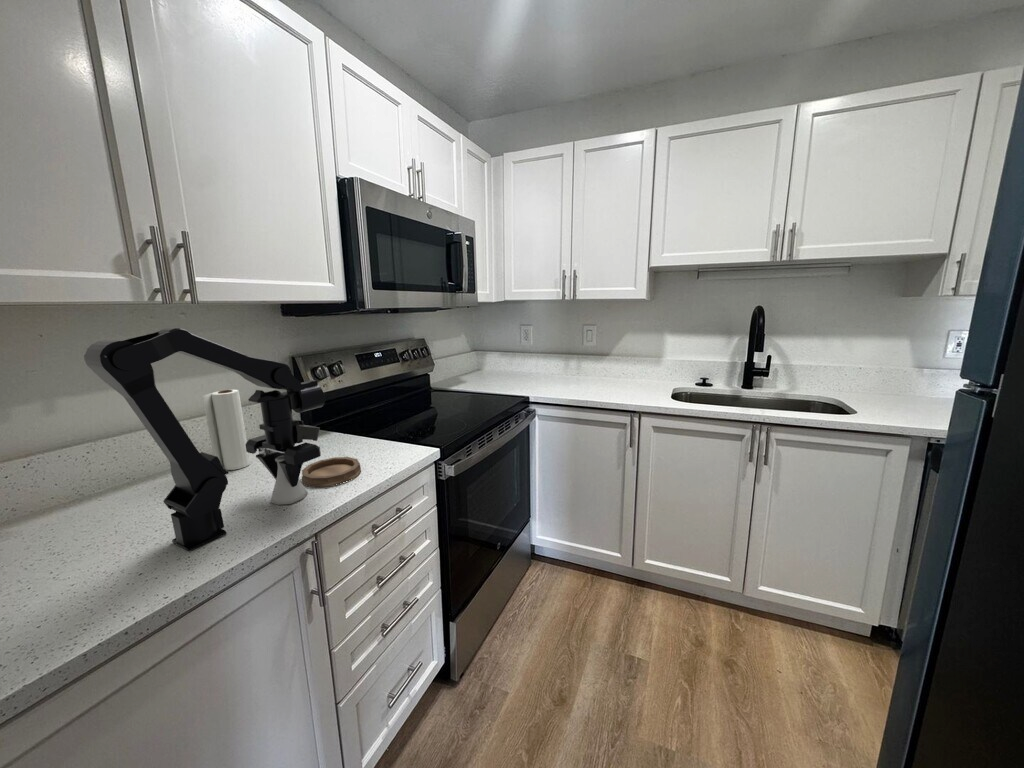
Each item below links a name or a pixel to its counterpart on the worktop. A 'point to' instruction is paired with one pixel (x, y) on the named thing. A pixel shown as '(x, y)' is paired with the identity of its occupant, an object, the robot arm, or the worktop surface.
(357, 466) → the walnut collar
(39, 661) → the worktop surface
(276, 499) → the flask
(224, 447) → the paper towel roll
